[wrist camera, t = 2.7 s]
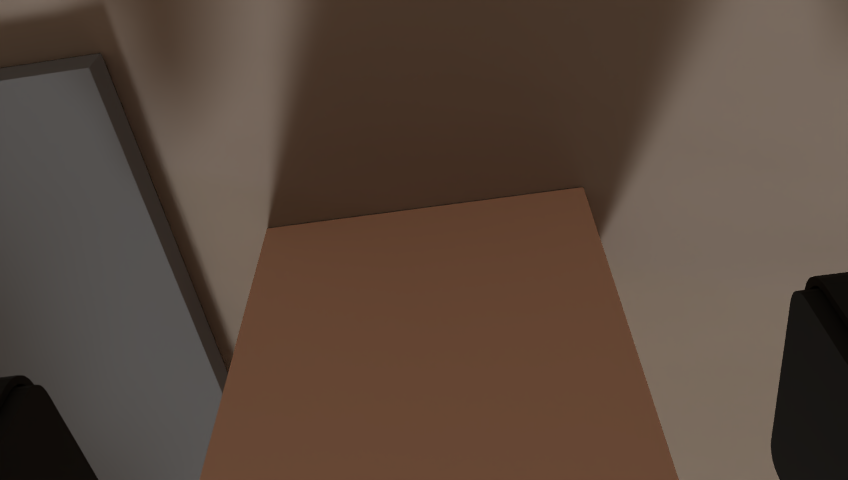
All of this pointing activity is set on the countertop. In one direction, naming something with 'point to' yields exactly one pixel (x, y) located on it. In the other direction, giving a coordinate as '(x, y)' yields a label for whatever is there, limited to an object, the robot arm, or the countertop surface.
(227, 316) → the countertop surface
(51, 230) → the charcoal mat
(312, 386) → the terracotta tile
